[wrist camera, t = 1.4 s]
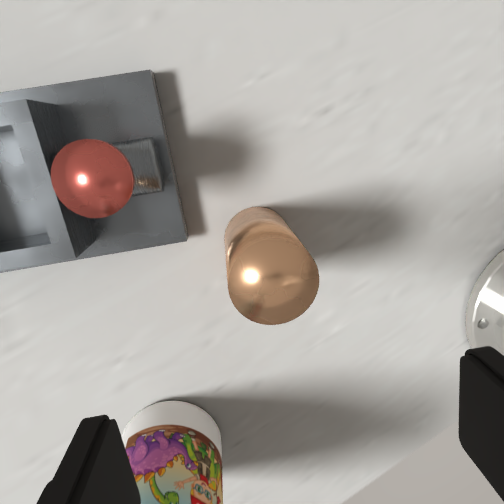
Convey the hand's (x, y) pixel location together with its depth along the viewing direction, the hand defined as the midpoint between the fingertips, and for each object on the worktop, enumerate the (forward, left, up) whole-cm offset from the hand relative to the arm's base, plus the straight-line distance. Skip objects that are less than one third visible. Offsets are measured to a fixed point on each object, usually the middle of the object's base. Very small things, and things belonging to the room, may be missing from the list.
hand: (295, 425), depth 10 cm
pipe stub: (-1, -1, -17) cm, 17 cm away
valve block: (+11, -7, -17) cm, 21 cm away
